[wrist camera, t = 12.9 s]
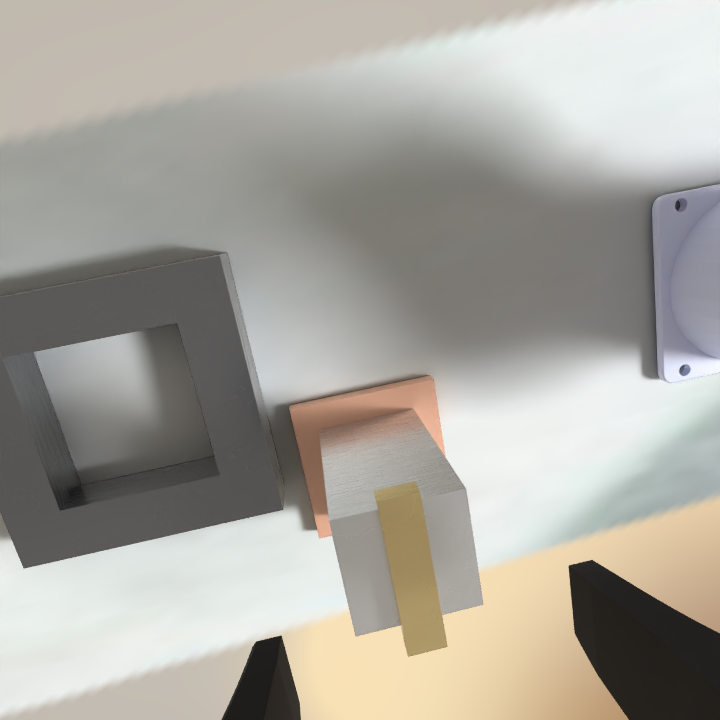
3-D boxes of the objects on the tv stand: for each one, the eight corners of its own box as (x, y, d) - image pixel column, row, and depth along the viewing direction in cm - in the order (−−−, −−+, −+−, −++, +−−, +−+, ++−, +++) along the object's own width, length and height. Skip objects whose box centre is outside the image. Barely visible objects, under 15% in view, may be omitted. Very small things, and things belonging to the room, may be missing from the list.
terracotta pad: (429, 375, 22) (433, 379, 22) (449, 500, 24) (453, 507, 23) (289, 405, 22) (289, 410, 21) (318, 530, 23) (319, 538, 23)
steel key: (430, 505, 23) (492, 635, 16) (340, 526, 23) (361, 668, 15) (411, 394, 22) (470, 479, 14) (315, 415, 21) (325, 513, 14)
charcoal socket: (227, 252, 20) (219, 255, 18) (284, 485, 23) (283, 509, 21) (-44, 304, 19) (-82, 312, 17) (47, 538, 22) (23, 568, 20)
